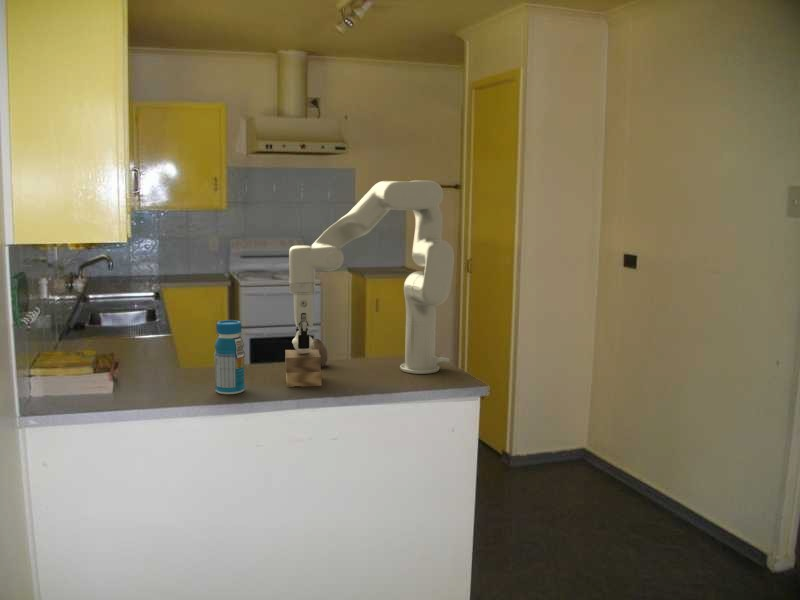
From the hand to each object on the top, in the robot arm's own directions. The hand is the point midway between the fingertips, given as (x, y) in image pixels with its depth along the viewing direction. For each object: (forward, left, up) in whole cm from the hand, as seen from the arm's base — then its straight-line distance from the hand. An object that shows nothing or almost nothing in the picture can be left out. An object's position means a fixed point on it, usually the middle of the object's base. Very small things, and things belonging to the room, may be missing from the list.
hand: (302, 344), depth 225 cm
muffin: (0, 0, -3) cm, 3 cm away
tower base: (0, 0, -12) cm, 12 cm away
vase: (-6, -19, -12) cm, 23 cm away
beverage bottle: (+21, +7, -12) cm, 25 cm away
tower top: (0, 0, -7) cm, 7 cm away
